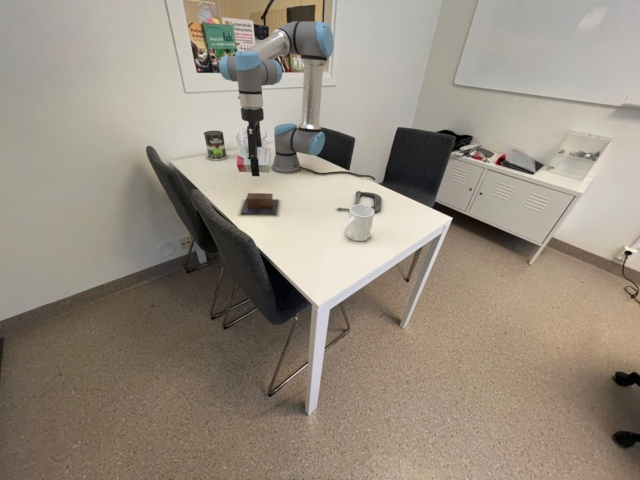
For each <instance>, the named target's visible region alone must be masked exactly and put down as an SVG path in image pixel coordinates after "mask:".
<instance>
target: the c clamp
mask: <svg viewBox="0 0 640 480" xmlns="http://www.w3.org/2000/svg"><path fill="white" fill-rule="evenodd" d="M355 196H356V198H355V202H354V204H353V205H358V204H359V202H360V197H363V196H364V197H369V198H372V199H374V201H373V206H370V207H371V208H372V209H373V210H374V214H375V213H379V212H380V211H381V209H382V197H381V196H380V195H379V194H377V193H374V192H370V191H368V192H367V191H360V190H357V191H356V192H355ZM337 209H338V210H341V211H350V208H345V207H338V208H337Z"/></svg>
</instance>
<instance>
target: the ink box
mask: <svg viewBox="0 0 640 480" xmlns="http://www.w3.org/2000/svg"><path fill="white" fill-rule="evenodd" d="M271 153H272V152H271V148H270V147H268V146H267V147H266V146H261V147H257V157H258V163H259V173H263V174H264V173H265V174H266V173H267V174H269V173H271V160H272V154H271ZM248 157H249V151H248V146H243V145H242V146H240V145H239V146H238V147H237V157H236V167H237V170H238V172H239V173H252V172H251V162H250V159H248Z"/></svg>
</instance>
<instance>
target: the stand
mask: <svg viewBox="0 0 640 480" xmlns="http://www.w3.org/2000/svg"><path fill="white" fill-rule="evenodd" d="M273 197H274V196H273V193H267V192H266V193H261V192H260V193H258V192H248V193H247V196H246V198H245V200H244V203H243V206H242V209H241V212H240V215H241V216H277V213H278V206H279V199H278V198H277V199H275V198H273Z"/></svg>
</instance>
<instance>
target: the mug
mask: <svg viewBox="0 0 640 480" xmlns="http://www.w3.org/2000/svg"><path fill="white" fill-rule="evenodd" d="M371 207H372V206H370V205H368V204H367V205H366V204H359V203H358V205H354V204H353V205H352V206H350V207H349V209H350V210H348V211H349V212H348V219H347V224H346V226H345V236H346V237H347V238H349V239H351V240H352V241H355V242H365V241H367V240H368V239H369V238H370V237H371V231H372V226H373V221H374V217H375V216H374V215H375V213H374V210H373V209H372V208H371Z"/></svg>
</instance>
